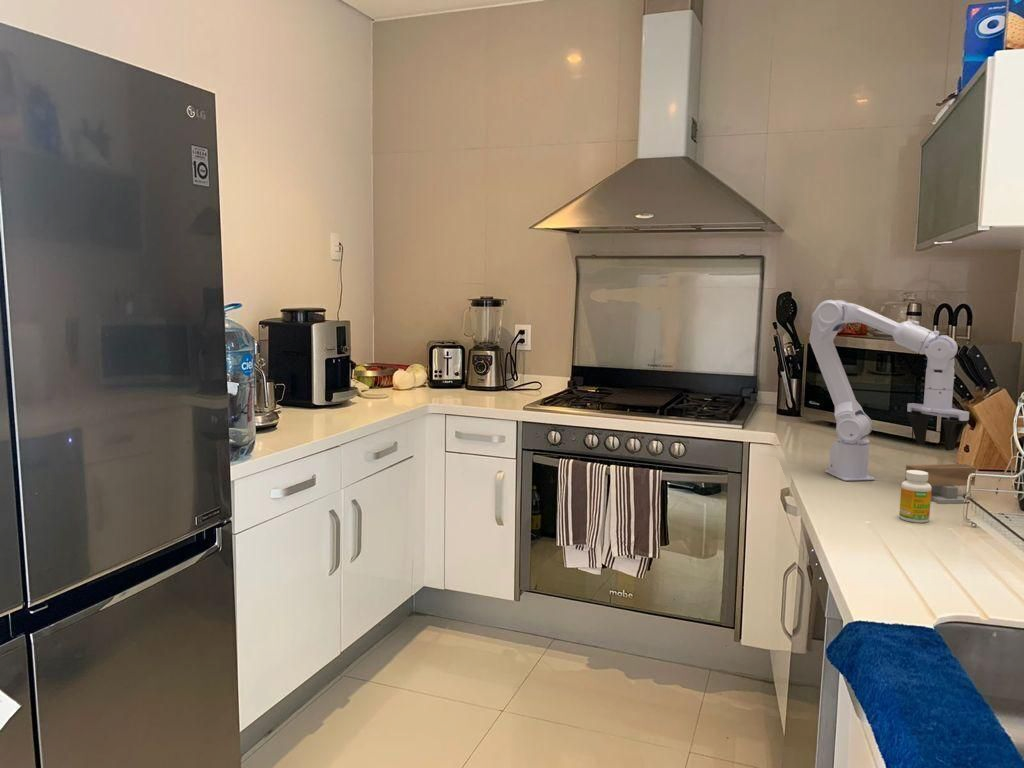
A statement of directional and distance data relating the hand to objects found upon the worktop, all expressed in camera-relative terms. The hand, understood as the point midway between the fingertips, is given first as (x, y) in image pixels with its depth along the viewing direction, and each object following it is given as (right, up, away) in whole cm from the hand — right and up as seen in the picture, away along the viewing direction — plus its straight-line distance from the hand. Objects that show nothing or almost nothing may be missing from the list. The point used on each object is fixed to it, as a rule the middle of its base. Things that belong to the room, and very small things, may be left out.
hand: (934, 446), depth 179 cm
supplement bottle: (-17, -13, -23) cm, 32 cm away
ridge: (-2, -11, -7) cm, 13 cm away
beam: (-3, -8, -7) cm, 11 cm away
